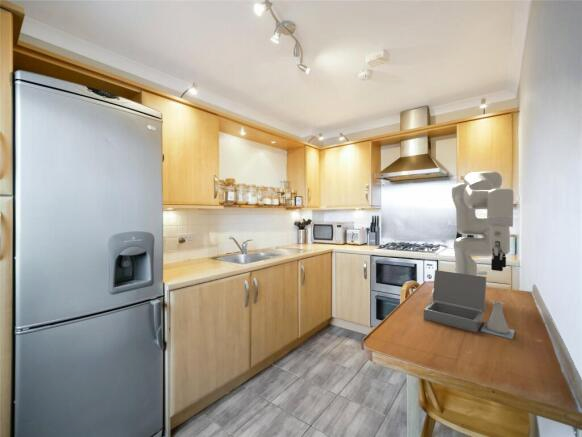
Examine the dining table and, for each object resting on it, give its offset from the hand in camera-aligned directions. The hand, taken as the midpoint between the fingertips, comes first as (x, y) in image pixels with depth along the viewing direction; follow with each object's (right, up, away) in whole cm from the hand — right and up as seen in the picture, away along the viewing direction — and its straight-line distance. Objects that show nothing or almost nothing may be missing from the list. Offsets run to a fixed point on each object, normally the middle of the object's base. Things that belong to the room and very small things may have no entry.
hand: (498, 268), depth 97 cm
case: (-11, -23, +10) cm, 27 cm away
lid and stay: (-7, -20, +14) cm, 26 cm away
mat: (0, -23, 0) cm, 23 cm away
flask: (0, -23, 0) cm, 23 cm away
